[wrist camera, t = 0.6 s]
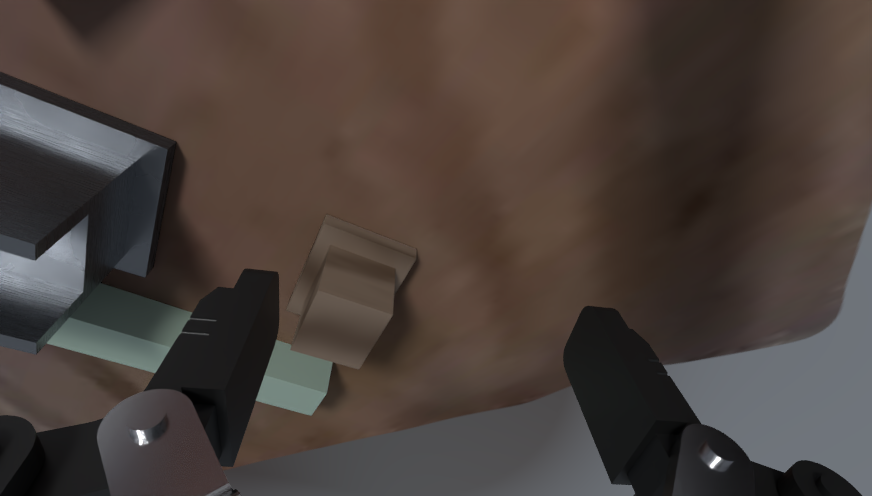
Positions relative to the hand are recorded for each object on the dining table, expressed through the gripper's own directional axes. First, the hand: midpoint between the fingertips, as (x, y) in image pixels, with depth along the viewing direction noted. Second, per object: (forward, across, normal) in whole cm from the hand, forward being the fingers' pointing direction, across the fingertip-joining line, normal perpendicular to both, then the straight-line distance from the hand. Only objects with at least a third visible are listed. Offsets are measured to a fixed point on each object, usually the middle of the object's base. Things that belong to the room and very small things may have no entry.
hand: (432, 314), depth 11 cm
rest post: (+19, +3, +13) cm, 23 cm away
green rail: (+20, +16, +21) cm, 33 cm away
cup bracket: (+19, +22, +8) cm, 30 cm away
